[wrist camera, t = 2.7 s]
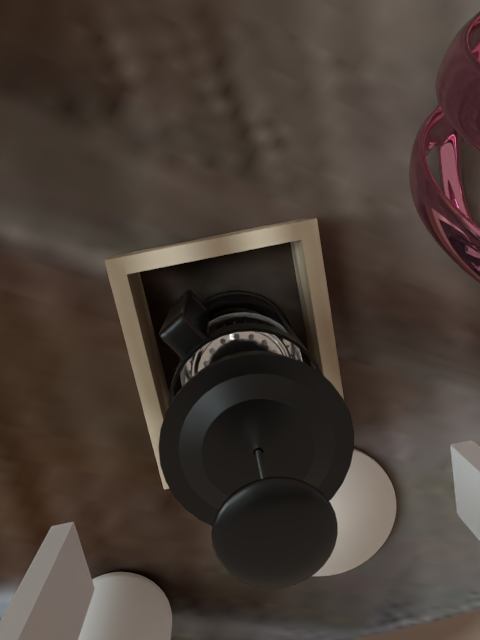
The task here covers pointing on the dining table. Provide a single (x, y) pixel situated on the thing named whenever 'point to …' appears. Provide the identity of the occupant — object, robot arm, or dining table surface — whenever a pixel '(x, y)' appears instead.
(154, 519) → the dining table surface
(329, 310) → the holder
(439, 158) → the spiral basket
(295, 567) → the french press
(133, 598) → the wine bottle
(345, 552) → the trivet
